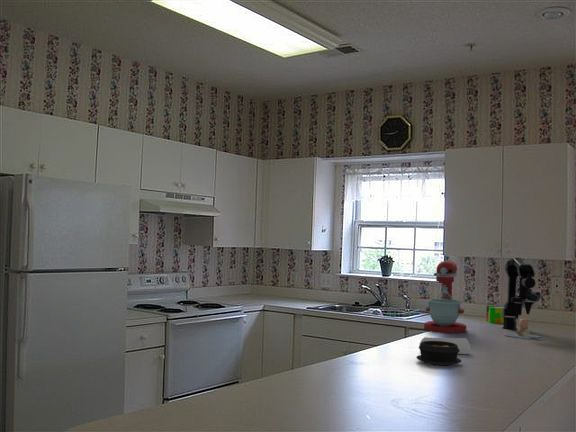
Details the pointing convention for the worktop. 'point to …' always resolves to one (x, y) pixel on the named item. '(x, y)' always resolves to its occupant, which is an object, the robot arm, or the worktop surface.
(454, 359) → the casserole
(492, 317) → the puzzle toy
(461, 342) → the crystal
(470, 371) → the worktop surface
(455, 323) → the stand mixer
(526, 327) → the brown rounded lump
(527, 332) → the oak block
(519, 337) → the board
